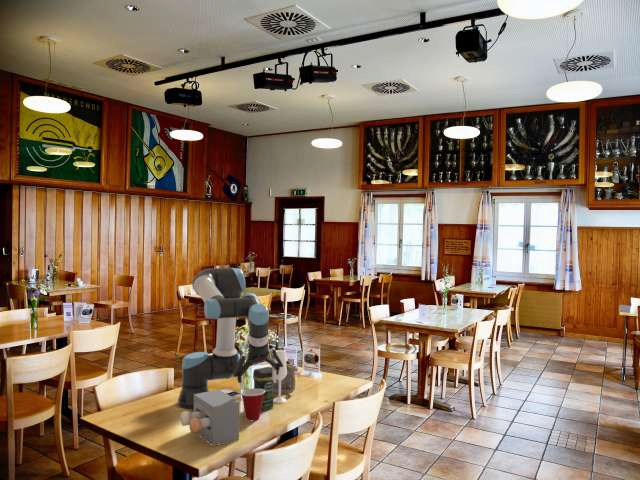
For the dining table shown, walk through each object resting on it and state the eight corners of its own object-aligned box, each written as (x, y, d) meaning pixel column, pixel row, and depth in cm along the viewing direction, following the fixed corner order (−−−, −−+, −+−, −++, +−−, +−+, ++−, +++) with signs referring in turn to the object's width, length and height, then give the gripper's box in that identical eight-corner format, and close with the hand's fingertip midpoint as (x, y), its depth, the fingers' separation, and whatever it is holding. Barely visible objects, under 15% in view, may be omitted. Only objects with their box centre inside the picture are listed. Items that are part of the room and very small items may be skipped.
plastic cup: (253, 411, 225) (253, 385, 225) (269, 417, 218) (270, 390, 218) (234, 418, 217) (235, 391, 217) (251, 424, 210) (252, 396, 210)
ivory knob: (180, 423, 196) (180, 410, 196) (207, 417, 203) (207, 404, 203) (185, 427, 192) (185, 414, 192) (212, 421, 199) (213, 408, 199)
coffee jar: (259, 412, 224) (260, 371, 224) (249, 407, 230) (250, 367, 230) (276, 407, 231) (277, 368, 231) (266, 403, 237) (267, 364, 237)
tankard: (265, 388, 260) (266, 359, 260) (286, 384, 267) (287, 356, 267) (284, 399, 243) (284, 368, 243) (306, 395, 250) (306, 365, 250)
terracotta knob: (189, 430, 190) (189, 416, 190) (216, 423, 197) (216, 410, 197) (194, 435, 186) (194, 421, 186) (222, 428, 193) (222, 414, 193)
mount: (193, 431, 202) (193, 394, 202) (218, 425, 209) (218, 389, 209) (212, 446, 188) (213, 407, 188) (238, 439, 195) (239, 401, 194)
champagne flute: (273, 403, 237) (274, 352, 237) (271, 398, 244) (272, 349, 244) (287, 402, 239) (288, 352, 238) (285, 397, 245) (286, 349, 245)
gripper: (228, 353, 186) (229, 397, 195) (292, 341, 195) (290, 383, 204) (224, 341, 192) (225, 384, 201) (286, 330, 201) (284, 371, 210)
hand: (258, 384), depth 203 cm, fingers open, 13 cm apart
